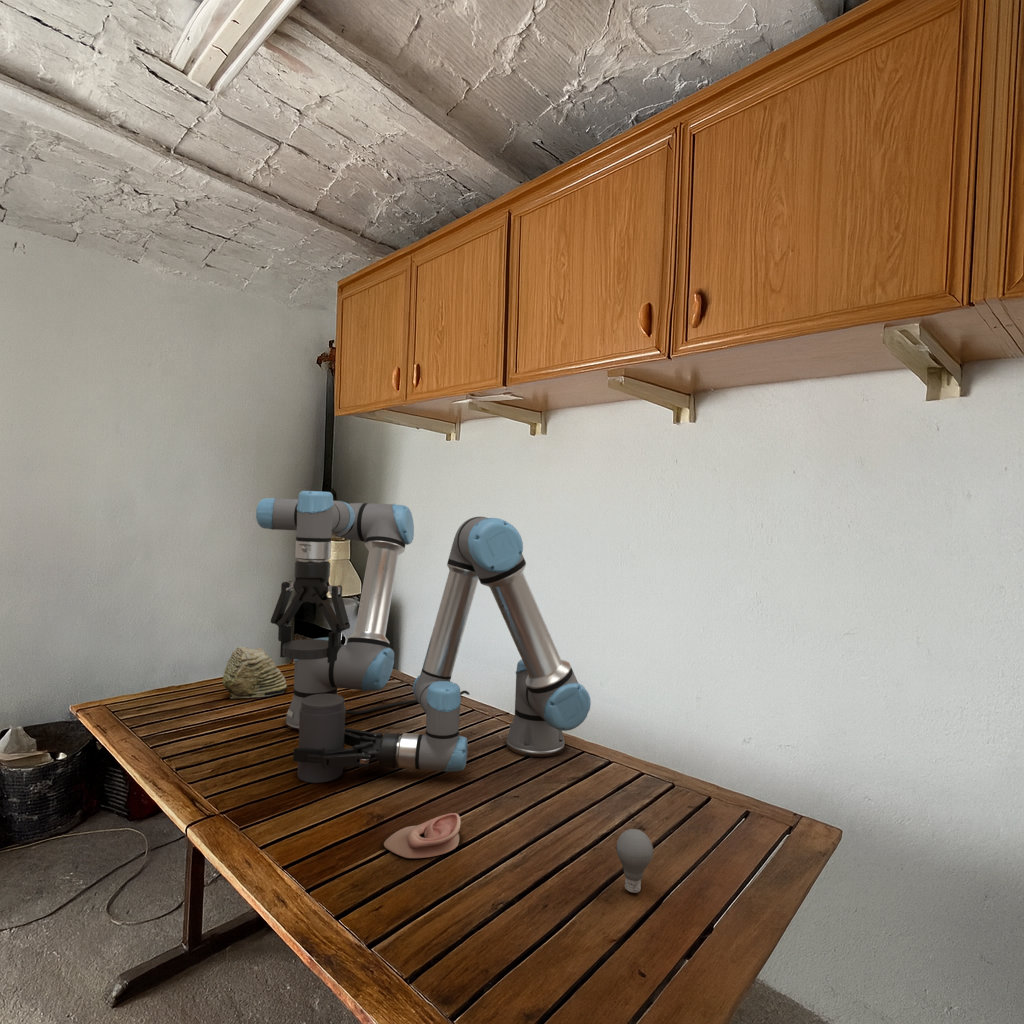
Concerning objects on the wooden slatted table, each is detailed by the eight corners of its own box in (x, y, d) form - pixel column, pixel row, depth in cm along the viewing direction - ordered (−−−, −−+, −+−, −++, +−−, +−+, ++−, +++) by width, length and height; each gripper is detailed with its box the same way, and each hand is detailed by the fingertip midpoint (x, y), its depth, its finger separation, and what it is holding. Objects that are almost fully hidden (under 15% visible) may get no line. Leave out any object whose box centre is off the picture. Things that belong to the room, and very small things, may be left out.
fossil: (218, 695, 195) (220, 647, 195) (278, 685, 208) (279, 640, 207) (228, 703, 189) (230, 653, 188) (289, 692, 201) (290, 645, 201)
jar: (351, 773, 146) (354, 700, 145) (312, 787, 138) (315, 710, 138) (327, 760, 152) (330, 690, 152) (288, 772, 145) (291, 699, 144)
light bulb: (610, 879, 108) (613, 822, 108) (644, 879, 109) (647, 822, 109) (619, 902, 102) (622, 840, 102) (655, 901, 103) (658, 840, 103)
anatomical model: (377, 831, 113) (401, 802, 124) (376, 853, 113) (400, 822, 124) (448, 842, 110) (466, 811, 122) (447, 865, 111) (465, 832, 122)
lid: (341, 649, 146) (341, 640, 146) (325, 661, 135) (326, 651, 135) (293, 646, 147) (294, 638, 147) (274, 658, 135) (274, 648, 135)
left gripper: (256, 558, 140) (251, 656, 140) (352, 565, 134) (347, 668, 134) (276, 556, 147) (272, 649, 147) (368, 562, 142) (364, 660, 142)
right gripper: (387, 789, 133) (282, 783, 134) (408, 747, 156) (319, 742, 156) (388, 754, 133) (284, 748, 134) (409, 717, 156) (320, 712, 156)
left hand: (308, 658), depth 141 cm, fingers closed on lid, 11 cm apart
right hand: (302, 745), depth 145 cm, fingers closed on jar, 10 cm apart
